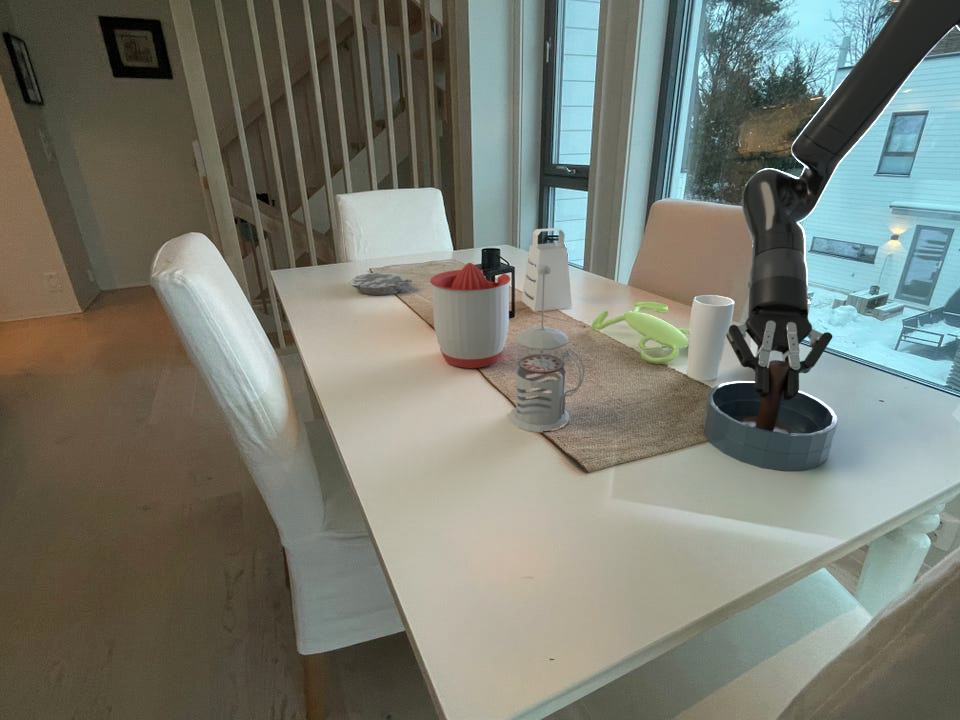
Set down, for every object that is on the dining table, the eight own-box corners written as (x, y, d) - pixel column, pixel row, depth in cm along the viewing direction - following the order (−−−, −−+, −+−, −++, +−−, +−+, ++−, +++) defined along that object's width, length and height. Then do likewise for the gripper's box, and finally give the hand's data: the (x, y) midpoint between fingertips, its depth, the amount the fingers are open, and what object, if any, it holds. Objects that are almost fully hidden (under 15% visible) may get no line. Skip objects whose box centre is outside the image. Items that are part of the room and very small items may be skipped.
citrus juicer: (529, 352, 108) (531, 258, 100) (477, 381, 96) (474, 276, 88) (473, 337, 117) (471, 249, 110) (419, 361, 105) (412, 265, 97)
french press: (523, 397, 89) (525, 255, 79) (588, 412, 84) (599, 261, 74) (499, 423, 81) (498, 269, 72) (569, 441, 76) (578, 277, 66)
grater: (521, 300, 143) (522, 227, 135) (556, 297, 145) (559, 225, 137) (535, 311, 134) (536, 234, 126) (571, 307, 136) (576, 231, 128)
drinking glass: (683, 383, 93) (695, 304, 87) (679, 368, 99) (690, 293, 93) (723, 386, 92) (738, 306, 86) (717, 371, 98) (730, 295, 92)
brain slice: (337, 290, 156) (336, 281, 155) (380, 279, 168) (379, 270, 167) (378, 301, 145) (377, 291, 144) (422, 288, 157) (421, 279, 155)
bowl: (810, 422, 80) (819, 388, 78) (841, 483, 66) (854, 444, 64) (698, 408, 85) (704, 375, 82) (706, 463, 71) (713, 425, 68)
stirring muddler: (781, 430, 77) (799, 357, 72) (789, 452, 72) (809, 374, 67) (737, 425, 79) (752, 353, 74) (742, 445, 73) (758, 369, 69)
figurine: (648, 316, 128) (651, 295, 126) (728, 354, 105) (733, 329, 103) (583, 326, 123) (585, 303, 121) (652, 368, 100) (655, 341, 97)
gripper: (731, 271, 75) (726, 381, 69) (841, 276, 70) (846, 394, 65) (721, 296, 81) (716, 398, 75) (822, 302, 77) (824, 411, 71)
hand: (776, 396), depth 70 cm, fingers closed on stirring muddler, 2 cm apart
